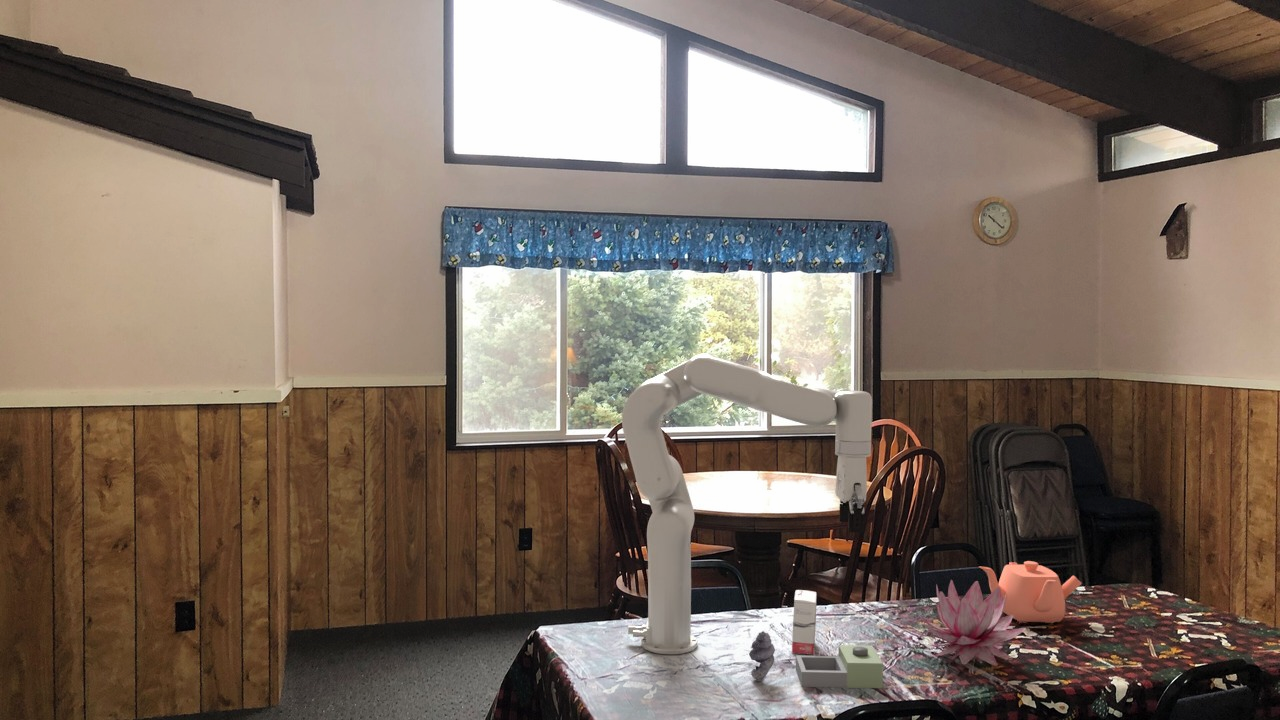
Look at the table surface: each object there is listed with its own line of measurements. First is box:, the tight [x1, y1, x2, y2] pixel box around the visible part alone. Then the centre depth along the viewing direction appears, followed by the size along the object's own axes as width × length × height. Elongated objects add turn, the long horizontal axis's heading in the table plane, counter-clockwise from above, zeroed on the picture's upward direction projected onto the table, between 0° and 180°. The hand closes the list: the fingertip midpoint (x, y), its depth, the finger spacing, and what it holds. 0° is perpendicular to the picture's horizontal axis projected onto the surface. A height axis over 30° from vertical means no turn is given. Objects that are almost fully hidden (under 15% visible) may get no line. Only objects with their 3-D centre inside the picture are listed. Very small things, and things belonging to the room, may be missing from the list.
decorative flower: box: [916, 579, 1027, 666], centre depth 201 cm, size 21×21×15 cm
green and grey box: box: [795, 644, 884, 689], centre depth 189 cm, size 16×10×6 cm, turn 88°
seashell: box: [749, 630, 776, 682], centre depth 188 cm, size 5×5×10 cm
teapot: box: [979, 560, 1083, 624], centre depth 227 cm, size 18×18×14 cm
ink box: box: [791, 589, 818, 656], centre depth 206 cm, size 9×5×12 cm, turn 168°
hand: (851, 526), depth 201 cm, fingers open, 9 cm apart
